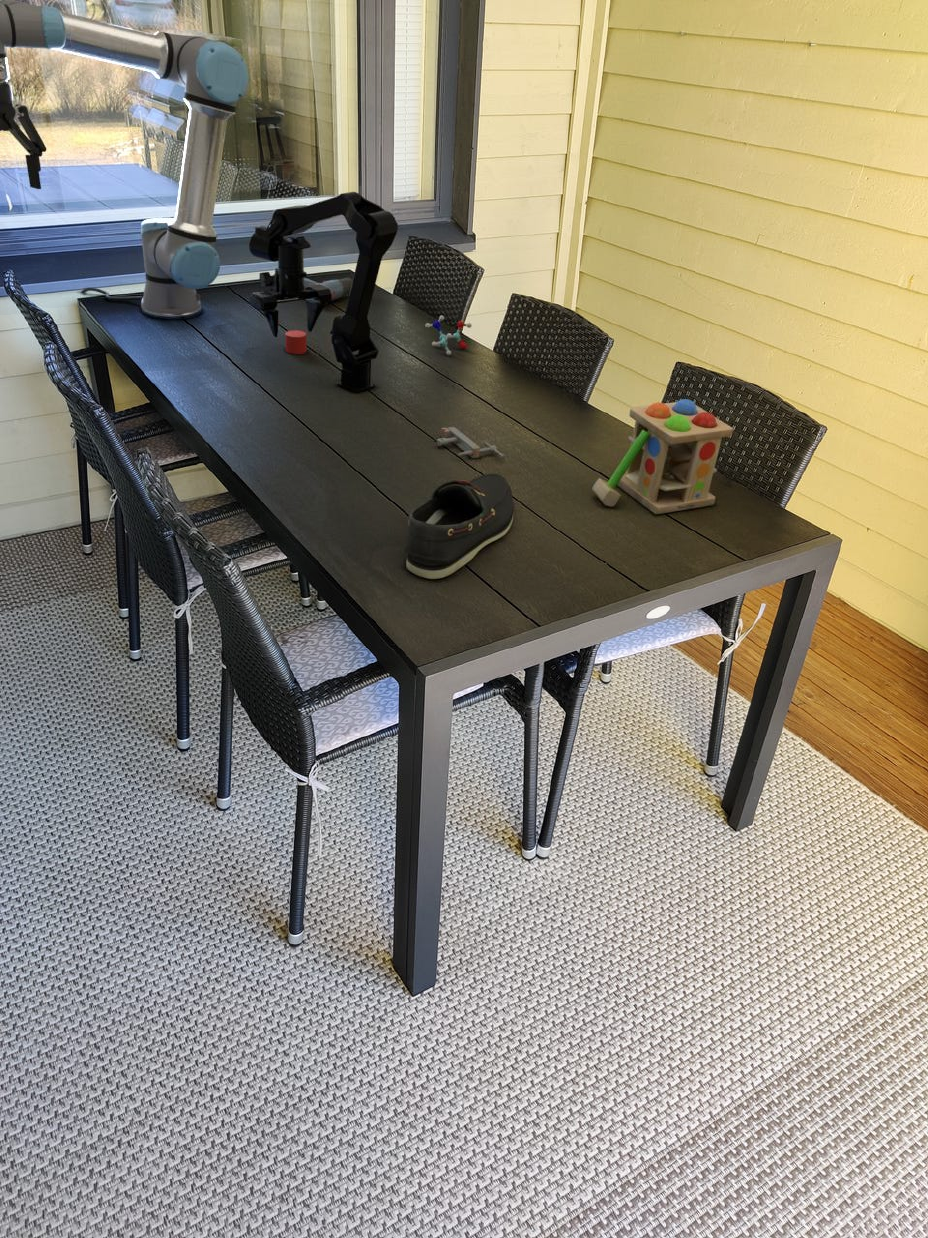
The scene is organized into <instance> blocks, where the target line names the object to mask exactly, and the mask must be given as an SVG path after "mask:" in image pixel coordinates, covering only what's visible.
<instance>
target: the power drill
mask: <svg viewBox="0 0 928 1238" xmlns="http://www.w3.org/2000/svg"><path fill="white" fill-rule="evenodd" d="M273 275H275V273H273ZM352 282H353V278H350V277H344V278H341V279H339V278H338V279H330V280H324V281H322V282H317V281H314V280H312V279H309V278H307V277H304V290H306V287H307V286H309V285H317V284H321V285H323V286H325V287H327V288H329V289H330V290H331V292H332V301H334V300H338V299H339V298H341V297H343V296H345V295H348V294H350V291H351V286H352Z"/></svg>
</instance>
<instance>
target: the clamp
mask: <svg viewBox="0 0 928 1238" xmlns="http://www.w3.org/2000/svg"><path fill="white" fill-rule="evenodd" d="M452 443H453V444H454V445H456V446H457V447H458V448H459V449H460V450H462V451H463V452H458V453H457V456H458V457H460V456H469V457H470V458H472V459H477V458H480V454H482V453H487V452H488V453H496V454H497V455H498V456H499V457H500V459H502V460H504V459H506V457H507V456H506V454H504V453H501V452H500V451H499V450H498V447H497V446H496V445H495V444H494V445H491V444H490V443H489V442H488V441H486V440H485V441H484V442H483V446H484V447H483V448H481V447H480V446H479V444H476V443H475V442H474V441H473V440H471V439H470V438H469V437H468V436H466V435H465V434H464V433H463V432H461V431H460V430H459V429H457V428H456V427H455V426H450V427H441V429H440V437H439V438H436V444H437V445H438V446H439V447H441V446H448V445H449V444H452Z"/></svg>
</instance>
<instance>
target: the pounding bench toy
mask: <svg viewBox="0 0 928 1238" xmlns="http://www.w3.org/2000/svg"><path fill="white" fill-rule="evenodd" d="M628 415H629V417H630V418H631V419H632V420H634V422H635V423H634V427H633V431H632V436H631V435H630V436H628V438H627V439H628V440H629V441H631V442H630V446H629V449H628V451H627V452H626V453H625V455H624V457H623V458H622V460H621V461H620V462H619V464H618V466H617V467H616V469H615V470H614V471H613V473H612V475H611V476H610V478H609V480H605V479H603V478H600V477H598V479H597V480H596V481H595V483H594V484H593V486H592V488H591V490H592V493H594V494H595V496H597V498H598V499H599V500H600V501H601V502H602V504H603V505H605V506H607V507H615V506H616V504H617V502H618V501H619V500H620V499H621V493H620V492H619V491H618V490H617V489H616V488H617V487H619V488H620V489H622V490H623V491H624V492H625V493H627V494H628V495H630V496H631V498H633V499H635V501H637V502H639V504H641V505H642V506H644V507H645V508H646V509H648V510H649V511H650V512H652V513H653V514H654V515H660V514H667V513H673V512H678V511H686V510H690V509H697V508H703V507H708V506H713V505H715V502H716V496H715V495H713V494H712V493H711V492H710V488H711V485H712V479H713V476H714V473H718V469H717V468H716V464H717V460H718V456H719V455H718V454H719V452H720V451H719V450H720V447H721V442H722V439H723V438H728V437H732V435H733V433H734V432H733V431H734V428H733V427H731V426H730V425H729V424H727V423H725V422H723V421H722V420H721V419H719V418H717V417H716V416H715V415H714V414H712V413H711V412H708V411H706V410H705V409H703V408H701V407H700V406H698V405H696V404H695V402H694V401H692V400H691V399H688V398H683V399H680V400H677V401H675V402H666V403H663V402H660V401H659V402H658V401H657V402H654V403H651V404H650V405H641V406H632V407H630V409H629V414H628Z"/></svg>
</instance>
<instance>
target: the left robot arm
mask: <svg viewBox="0 0 928 1238" xmlns="http://www.w3.org/2000/svg"><path fill="white" fill-rule="evenodd" d="M7 48H10V49H11V48H13V49H14V48H19V49H20V48H21V49H40V50H41V49H42V50H47V51H50V50H55V51H60V52H64V53H69V54H73V55H77V56H82V57H86V58H89V59H95V60H99V61H103V62H107V63H112V64H117V65H121V66H125V67H130V68H134V69H138V70H143V71H147V72H151V73H152V74H153V76H154V77H155V78H157V79H161V80H165V81H167V82H171V83H173V84H176V85H179V86H181V87H183V88H184V94H183V101H184V102H185V104H186V105H187V107H188V109H189V111H188V116H187V117H188V119H187V125H186V134H185V140H184V149H183V157H182V165H181V171H180V172H181V173H180V180H179V187H178V194H177V195H178V196H177V203H176V212H175V216H174V217H158V218H157V217H156V218H148V219H145V220H143V221H142V222H141V224H140V236H141V244H142V254H143V265H144V274H145V275H144V276H145V283H144V289H143V295H142V296H141V295H140V296H110V293H109V292H108V291H106V290H104V289H101V288H97V287H91V286H90V287H85V288H83V289H82V290H81V291H80V294H85V293H87V292H96V293H99V294H102V295H105V298H106V300H108V301H109V300H110V301H140V307H141V312H142V313H143V314H144V315H146V316H148V317H150V318H155V319H161V320H184V319H190V318H193V317H197V316H198V315H200V314H201V313H202V311H203V310H202V303H201V295H200V294H199V293H197V290H201V289H204V288H207V287H208V286H209V285H211V284H212V283H213V282H214V281H215V280H216V279H217V277H218V275H219V274H220V269H221V260H220V259H221V258H220V256H219V254H218V252H217V249H216V244H217V238H218V237H217V236H218V234H217V232H216V231H215V229H214V227H213V221H214V214H215V212H214V211H215V206H216V199H217V192H218V186H219V185H218V184H219V178H220V172H221V164H222V158H223V151H224V144H225V137H226V132H227V131H226V130H227V124H228V120H229V119H230V118H232V117H233V116H234V115H236V110H237V103H238V101H239V100H240V99H241V98H243V96H244V95H245V93H246V92H247V89H248V85H249V72H248V67H247V64H246V62H245V60H244V58H243V56H242V55H241V53H239V51H238V50H236V49H235V48H234V47H232V46H230V45H229V44H228V43H225V42H223V41H219V40H214V39H211V38H206V37H203V36H199V35H184V34H176V33H170V32H165V31H162V30H159V31H157V32H155V33H154V34H152V33H150V32H149V33H148V32H144V31H140V30H137V29H133V28H128V27H124V26H121V25H117V24H112V23H109V22H104V21H102V20H101V21H100V20H96V19H92V18H88V17H85V16H81V15H76V14H72V13H68V12H65V11H60V10H59V9H58V8H57V7H54V6H47V5H44V4H43V5H37V4H36V5H35V4H32V3H28V2H24V1H19V0H0V132H1V131H3V132H9V133H10V134H11V135H12V136H13V137H14V139H16V140H17V142H18V143H19V144H20V145H21V146H22V148H23V149H24V150H25V151H26V152H27V153H28V154H25V162H26V168H27V177H28V181H29V187H30V188H32V189H36V190H42V185H41V177H40V172H41V171H42V167H41V161H40V160H41V159H40V158H41V157H42V156H43V153H46V152H47V147H46V145H45V143H44V141H43V140H42V137H41V136H40V134H39V132H38V130H37V128H36V127H35V125H34V123H33V121H32V119H31V118H30V113H29V109H28V107H27V106H26V105H22V104H18V103H16V104H14V105H13V103H14V94H13V88H12V83H10V81H8V80H10V79H11V76H10V71H9V69H10V68H9V63H8V56H7ZM15 117H17V119H18V121H19V123H20V125H21V127H22V128H23V130H24V131H23V130H22V129H21V127H20V125H19V124H18V123H17V121H16V120H14V119H15ZM24 132H25V133H24Z"/></svg>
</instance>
